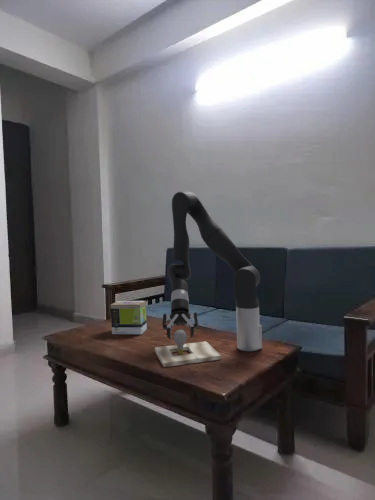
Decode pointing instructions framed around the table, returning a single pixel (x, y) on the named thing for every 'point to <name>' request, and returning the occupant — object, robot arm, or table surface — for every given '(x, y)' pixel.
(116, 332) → the tea box
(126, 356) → the table surface
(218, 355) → the cream board with hole
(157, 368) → the table surface
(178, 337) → the light bulb
